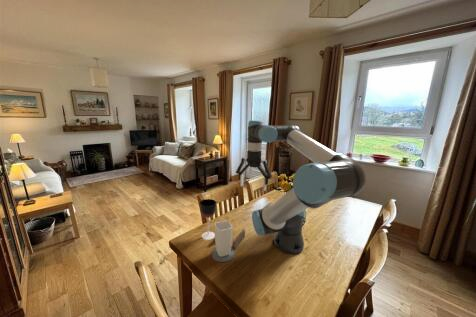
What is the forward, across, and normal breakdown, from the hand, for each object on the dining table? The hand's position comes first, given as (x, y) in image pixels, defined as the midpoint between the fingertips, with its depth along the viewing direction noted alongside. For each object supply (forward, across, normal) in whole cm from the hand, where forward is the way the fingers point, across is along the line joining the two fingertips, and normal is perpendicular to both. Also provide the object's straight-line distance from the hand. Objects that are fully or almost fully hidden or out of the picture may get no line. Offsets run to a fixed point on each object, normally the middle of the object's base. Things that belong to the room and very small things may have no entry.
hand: (252, 187), depth 105 cm
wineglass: (+27, +20, +15) cm, 37 cm away
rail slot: (+27, +7, +13) cm, 31 cm away
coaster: (+27, +5, +24) cm, 36 cm away
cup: (+26, +5, +24) cm, 36 cm away
